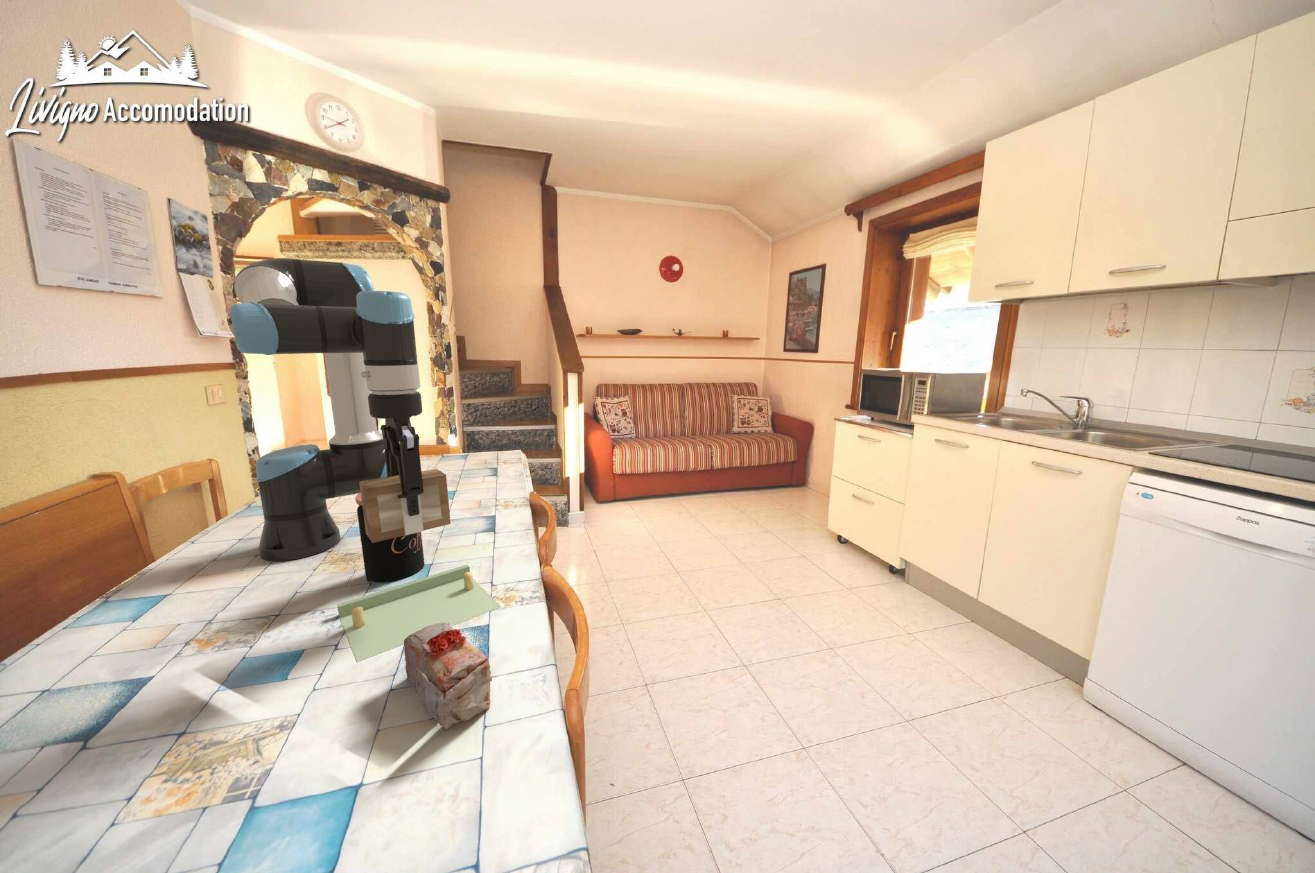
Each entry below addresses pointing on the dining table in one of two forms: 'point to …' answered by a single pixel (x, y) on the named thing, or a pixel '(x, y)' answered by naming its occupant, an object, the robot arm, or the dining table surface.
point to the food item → (447, 673)
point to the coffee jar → (390, 554)
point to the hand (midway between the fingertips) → (409, 526)
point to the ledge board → (412, 610)
